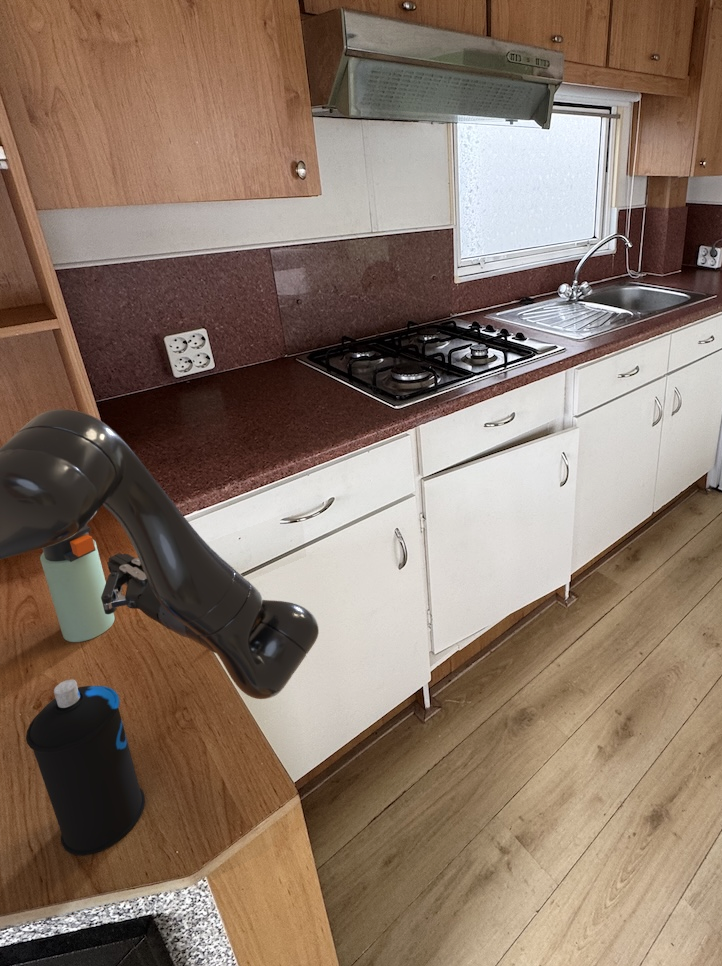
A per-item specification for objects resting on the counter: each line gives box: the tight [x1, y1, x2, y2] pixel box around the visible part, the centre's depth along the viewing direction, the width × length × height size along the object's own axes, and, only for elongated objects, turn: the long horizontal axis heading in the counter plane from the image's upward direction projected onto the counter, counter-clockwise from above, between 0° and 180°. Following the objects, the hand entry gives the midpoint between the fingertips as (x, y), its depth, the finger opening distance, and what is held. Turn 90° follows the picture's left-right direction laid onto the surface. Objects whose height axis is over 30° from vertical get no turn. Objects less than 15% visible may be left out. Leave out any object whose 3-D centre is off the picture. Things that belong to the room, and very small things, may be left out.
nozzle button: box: [70, 534, 95, 557], centre depth 88 cm, size 2×2×2 cm
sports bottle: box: [39, 524, 116, 643], centre depth 93 cm, size 8×7×22 cm
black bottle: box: [25, 679, 146, 856], centre depth 64 cm, size 8×8×20 cm
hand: (114, 560), depth 84 cm, fingers closed
